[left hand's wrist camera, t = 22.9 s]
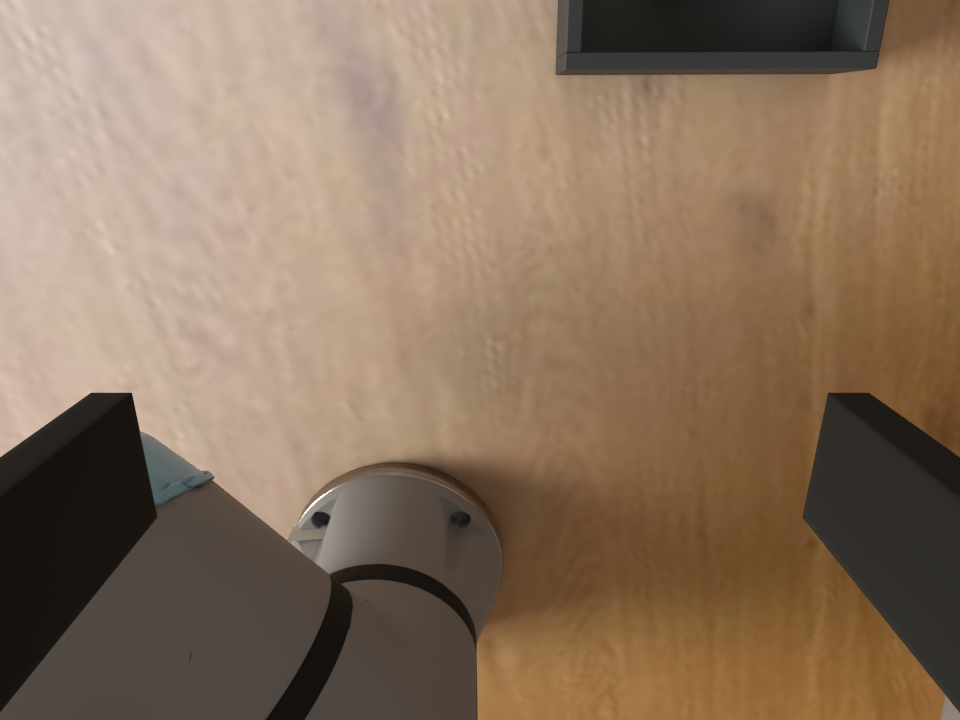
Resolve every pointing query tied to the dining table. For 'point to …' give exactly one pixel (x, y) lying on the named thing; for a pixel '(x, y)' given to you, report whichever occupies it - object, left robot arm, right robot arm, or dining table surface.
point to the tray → (718, 36)
